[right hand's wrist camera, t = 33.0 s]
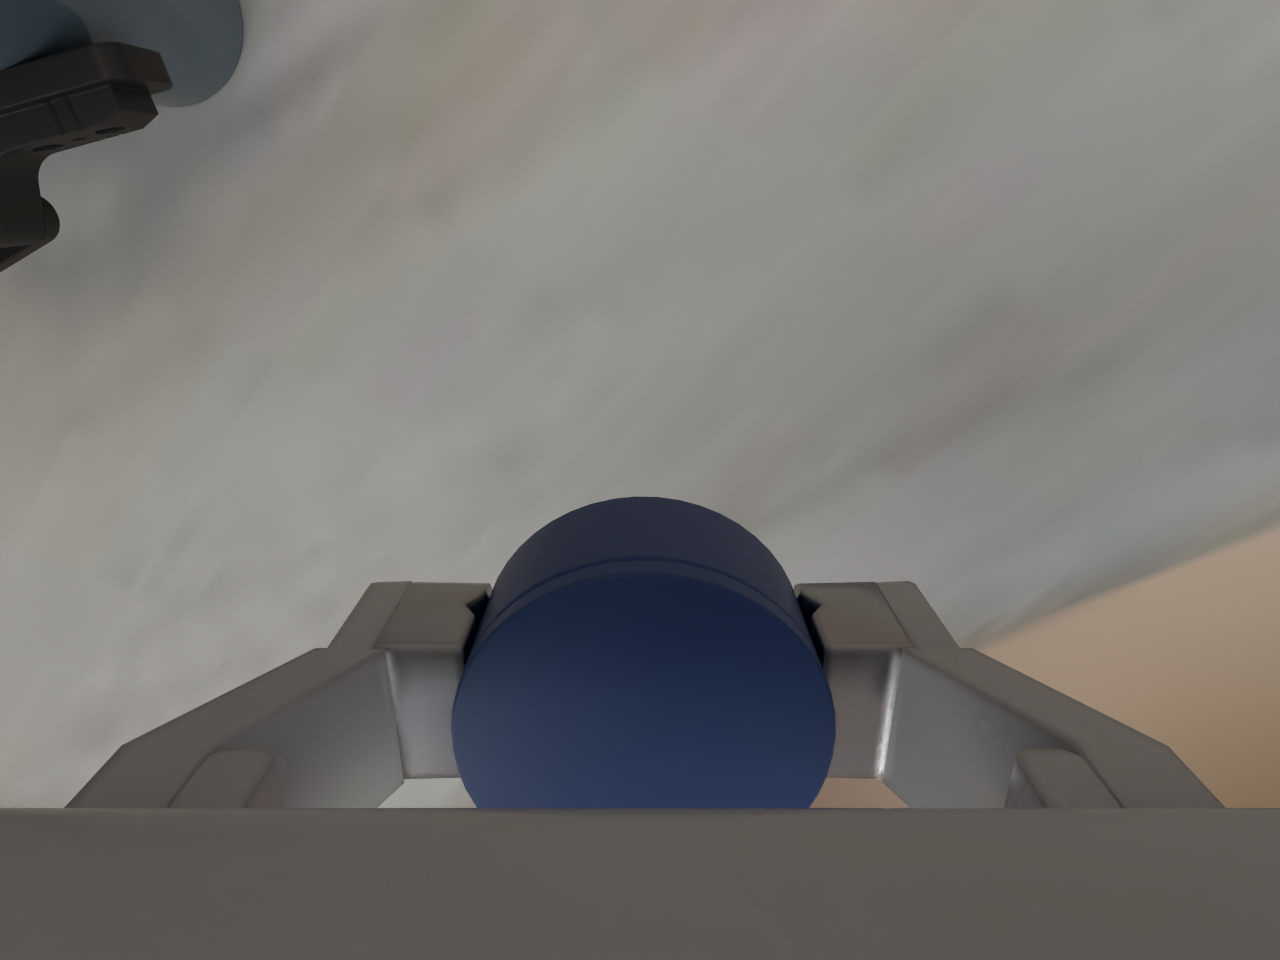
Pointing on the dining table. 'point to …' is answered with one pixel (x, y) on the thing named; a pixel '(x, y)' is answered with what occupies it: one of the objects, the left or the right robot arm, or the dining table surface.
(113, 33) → the bottle
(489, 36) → the dining table surface
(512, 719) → the cap
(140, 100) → the left robot arm
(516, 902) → the right robot arm
